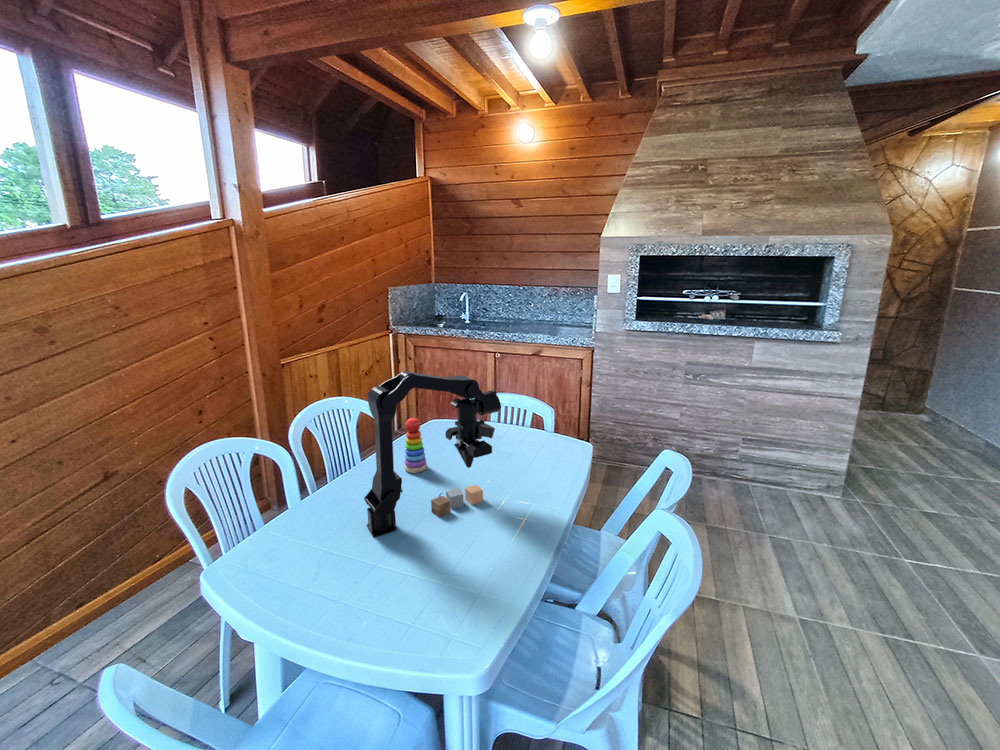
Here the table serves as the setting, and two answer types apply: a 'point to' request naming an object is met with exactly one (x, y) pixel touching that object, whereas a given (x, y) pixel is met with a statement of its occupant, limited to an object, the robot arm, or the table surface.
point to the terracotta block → (473, 494)
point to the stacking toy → (414, 448)
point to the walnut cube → (440, 506)
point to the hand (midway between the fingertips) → (468, 467)
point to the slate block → (455, 498)
